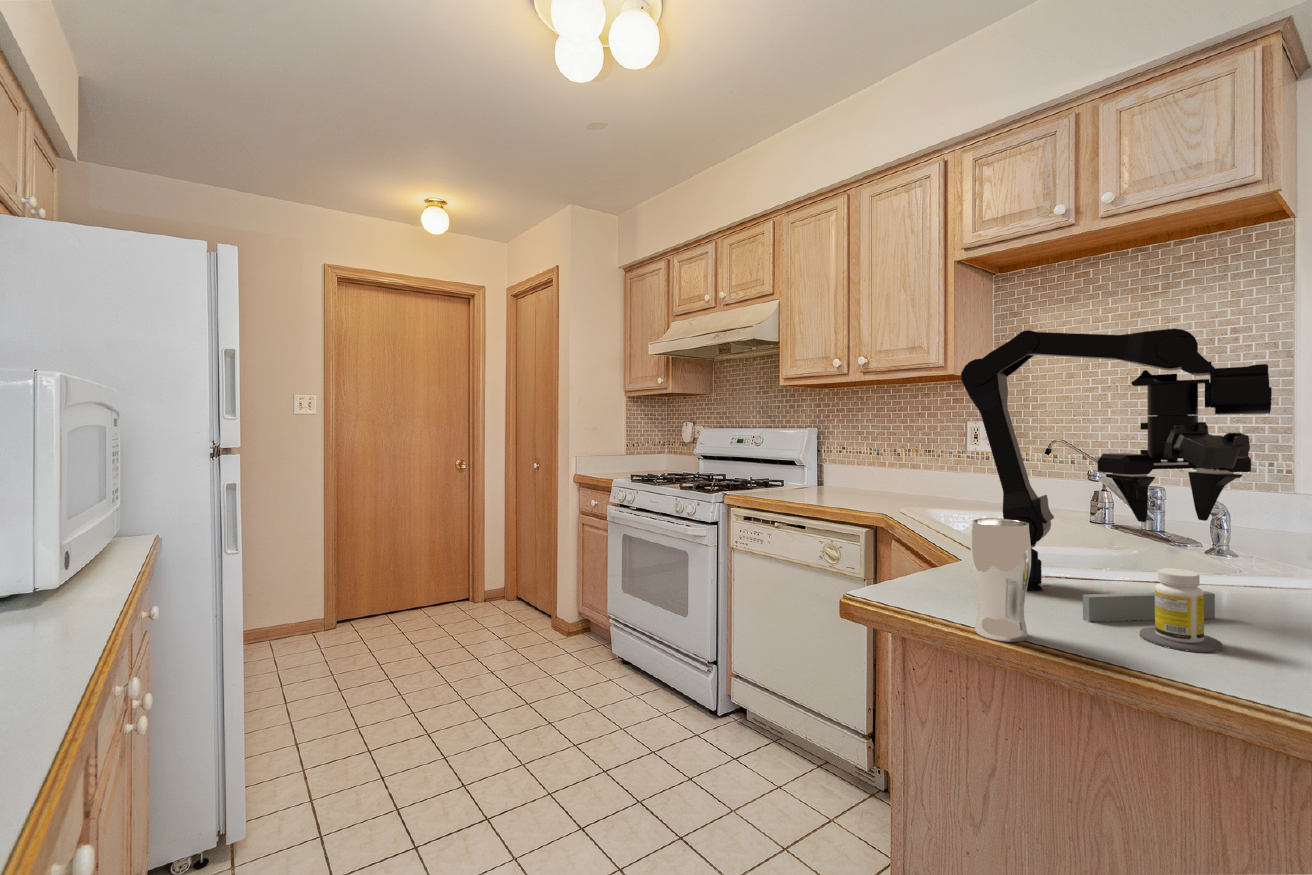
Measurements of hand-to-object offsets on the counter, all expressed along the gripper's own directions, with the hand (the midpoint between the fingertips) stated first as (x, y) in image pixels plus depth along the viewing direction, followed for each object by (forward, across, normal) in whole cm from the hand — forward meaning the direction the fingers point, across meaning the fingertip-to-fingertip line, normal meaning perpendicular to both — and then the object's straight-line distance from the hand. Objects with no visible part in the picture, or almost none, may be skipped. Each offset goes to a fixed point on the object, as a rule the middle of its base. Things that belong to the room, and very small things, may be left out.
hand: (1172, 521), depth 90 cm
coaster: (+13, -10, -13) cm, 21 cm away
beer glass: (+13, -31, -9) cm, 35 cm away
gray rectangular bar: (+13, -7, -4) cm, 16 cm away
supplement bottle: (+13, -10, -13) cm, 21 cm away
